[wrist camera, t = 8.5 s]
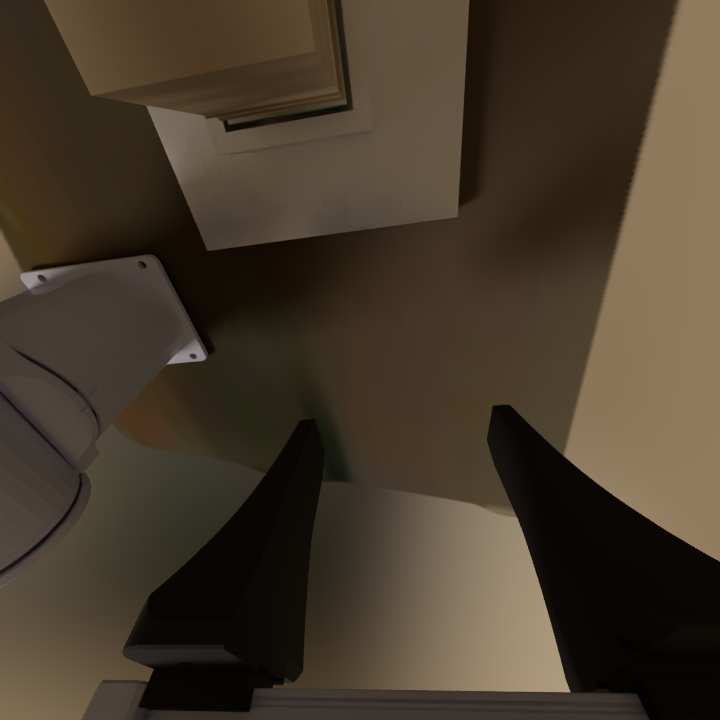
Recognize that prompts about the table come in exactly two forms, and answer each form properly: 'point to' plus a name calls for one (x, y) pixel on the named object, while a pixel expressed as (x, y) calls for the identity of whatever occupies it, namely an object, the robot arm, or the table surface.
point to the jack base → (339, 138)
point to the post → (208, 54)
